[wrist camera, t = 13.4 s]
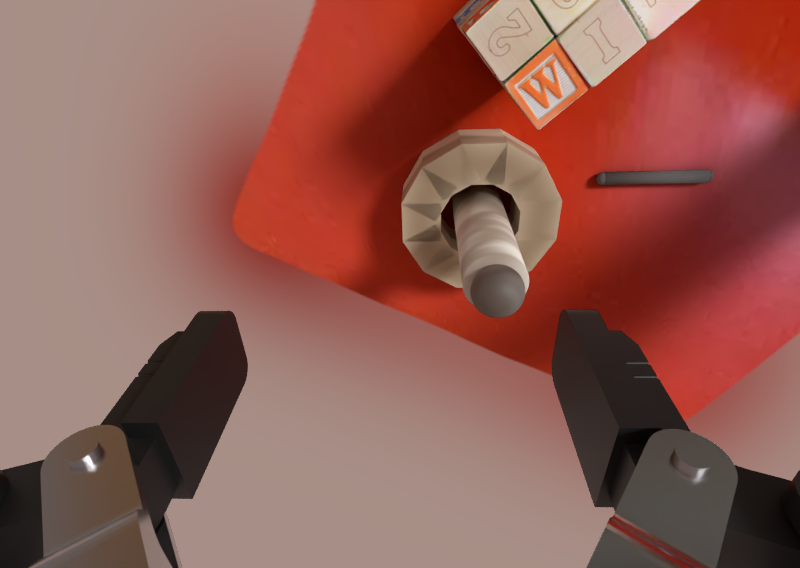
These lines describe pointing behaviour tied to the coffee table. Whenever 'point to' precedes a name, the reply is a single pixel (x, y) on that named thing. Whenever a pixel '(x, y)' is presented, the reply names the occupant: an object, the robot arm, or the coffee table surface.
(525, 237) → the bead
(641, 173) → the dark grey rod
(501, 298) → the grey tipped beige rod
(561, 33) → the stack of blocks
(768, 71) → the coffee table surface
